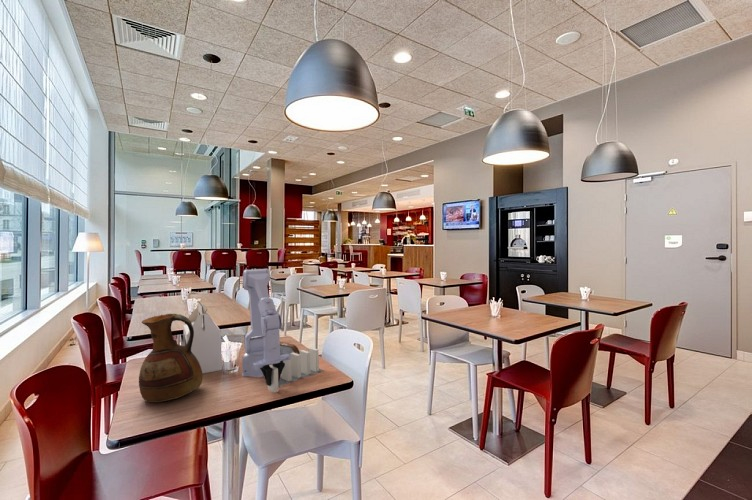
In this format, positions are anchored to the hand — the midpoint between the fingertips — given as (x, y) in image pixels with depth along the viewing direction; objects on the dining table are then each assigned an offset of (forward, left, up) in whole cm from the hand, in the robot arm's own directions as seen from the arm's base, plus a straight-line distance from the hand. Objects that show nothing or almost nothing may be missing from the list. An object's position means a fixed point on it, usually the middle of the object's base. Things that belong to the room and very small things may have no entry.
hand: (272, 383), depth 133 cm
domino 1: (0, 0, -3) cm, 3 cm away
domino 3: (+2, +14, -2) cm, 15 cm away
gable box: (-46, +20, -3) cm, 50 cm away
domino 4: (+4, +18, -2) cm, 19 cm away
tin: (-11, +32, -3) cm, 34 cm away
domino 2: (0, +11, -2) cm, 11 cm away
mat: (+2, +14, -3) cm, 15 cm away
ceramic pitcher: (-35, -10, -3) cm, 36 cm away
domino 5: (+7, +22, -2) cm, 23 cm away
